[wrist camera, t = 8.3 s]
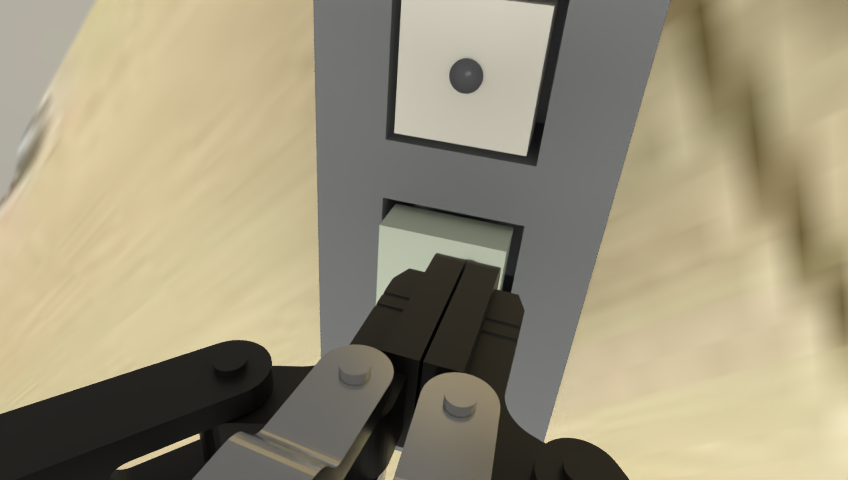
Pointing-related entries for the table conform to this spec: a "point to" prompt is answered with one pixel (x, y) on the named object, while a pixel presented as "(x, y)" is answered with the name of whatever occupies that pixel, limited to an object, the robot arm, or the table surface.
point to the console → (480, 173)
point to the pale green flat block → (436, 242)
